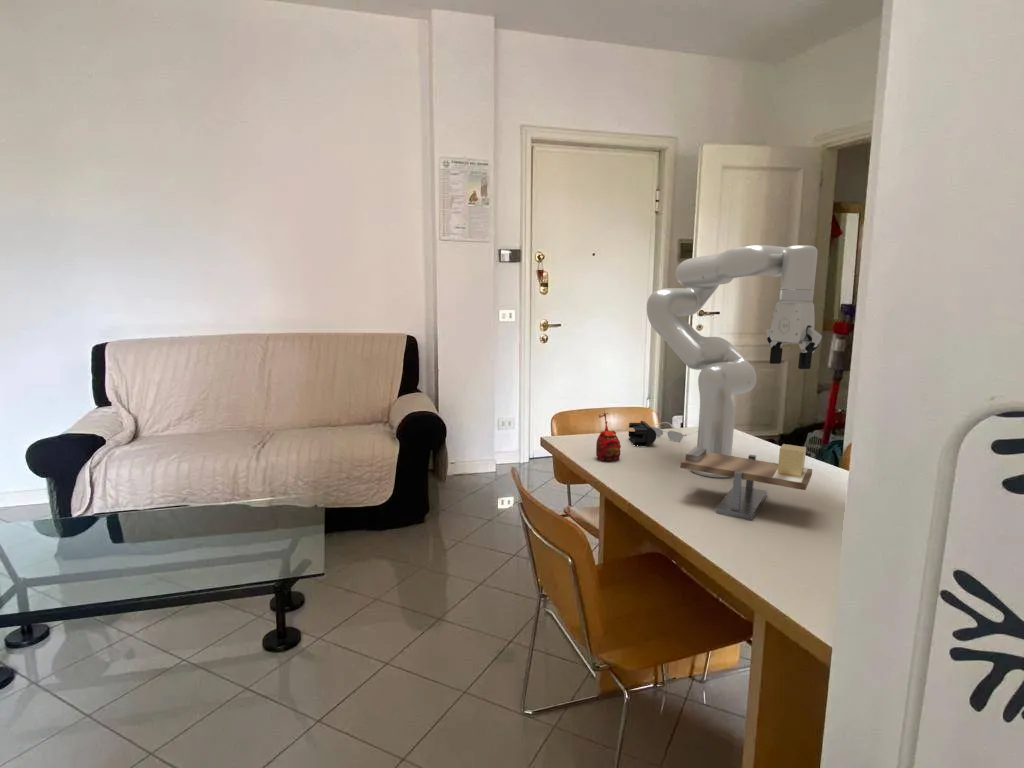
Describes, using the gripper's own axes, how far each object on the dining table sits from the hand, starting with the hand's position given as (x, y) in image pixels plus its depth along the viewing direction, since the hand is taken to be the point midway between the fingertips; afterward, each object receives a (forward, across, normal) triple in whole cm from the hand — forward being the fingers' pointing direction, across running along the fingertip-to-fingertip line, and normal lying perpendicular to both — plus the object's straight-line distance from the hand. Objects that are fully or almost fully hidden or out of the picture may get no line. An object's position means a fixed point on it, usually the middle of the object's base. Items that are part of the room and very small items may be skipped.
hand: (789, 366), depth 149 cm
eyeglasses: (+34, -60, +10) cm, 70 cm away
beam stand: (+33, +4, -14) cm, 36 cm away
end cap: (+34, -53, -9) cm, 63 cm away
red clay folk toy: (+34, -39, -29) cm, 59 cm away
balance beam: (+24, +4, -14) cm, 28 cm away
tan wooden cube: (+24, +12, -8) cm, 27 cm away
